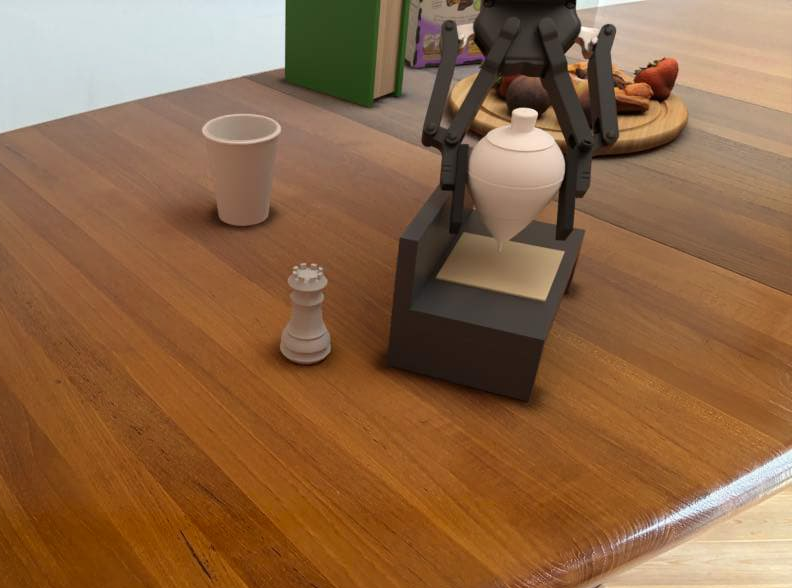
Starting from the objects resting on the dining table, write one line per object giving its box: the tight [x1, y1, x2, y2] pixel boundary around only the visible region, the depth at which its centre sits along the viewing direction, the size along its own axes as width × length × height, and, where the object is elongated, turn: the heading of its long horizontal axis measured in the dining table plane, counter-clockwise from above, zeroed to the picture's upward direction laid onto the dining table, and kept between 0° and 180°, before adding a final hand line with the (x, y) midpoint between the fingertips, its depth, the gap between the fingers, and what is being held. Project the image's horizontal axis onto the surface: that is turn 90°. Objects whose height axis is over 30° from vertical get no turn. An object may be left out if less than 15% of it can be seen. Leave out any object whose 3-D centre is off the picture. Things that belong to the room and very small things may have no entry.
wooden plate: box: [447, 56, 689, 155], centre depth 114 cm, size 32×32×8 cm
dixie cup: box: [201, 113, 282, 227], centre depth 90 cm, size 8×8×10 cm
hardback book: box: [284, 0, 410, 108], centre depth 120 cm, size 18×7×24 cm, turn 42°
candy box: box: [405, 0, 485, 69], centre depth 132 cm, size 14×6×16 cm, turn 100°
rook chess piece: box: [279, 262, 332, 365], centre depth 69 cm, size 4×4×8 cm
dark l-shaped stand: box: [385, 146, 586, 403], centre depth 71 cm, size 12×20×12 cm, turn 154°
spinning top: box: [466, 108, 565, 252], centre depth 66 cm, size 8×8×12 cm
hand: (509, 231), depth 65 cm, fingers closed on spinning top, 8 cm apart
